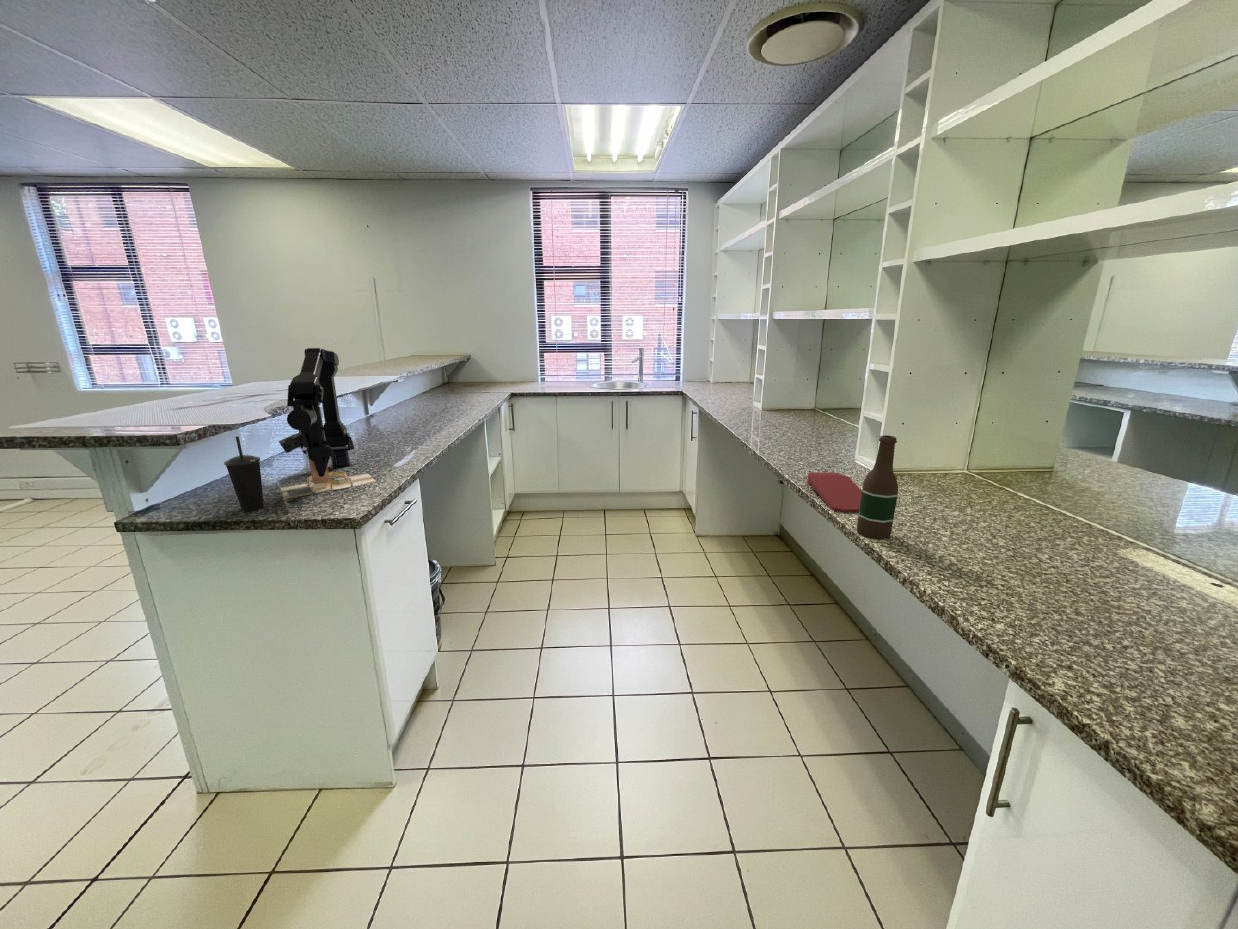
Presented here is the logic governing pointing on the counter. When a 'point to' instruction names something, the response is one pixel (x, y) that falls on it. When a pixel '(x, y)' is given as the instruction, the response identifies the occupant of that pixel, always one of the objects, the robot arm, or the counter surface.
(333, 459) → the robot arm
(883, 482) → the beer bottle
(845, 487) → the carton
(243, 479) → the drinking cup
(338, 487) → the beige board
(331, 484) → the bent wooden frame
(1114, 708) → the counter surface
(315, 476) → the block
